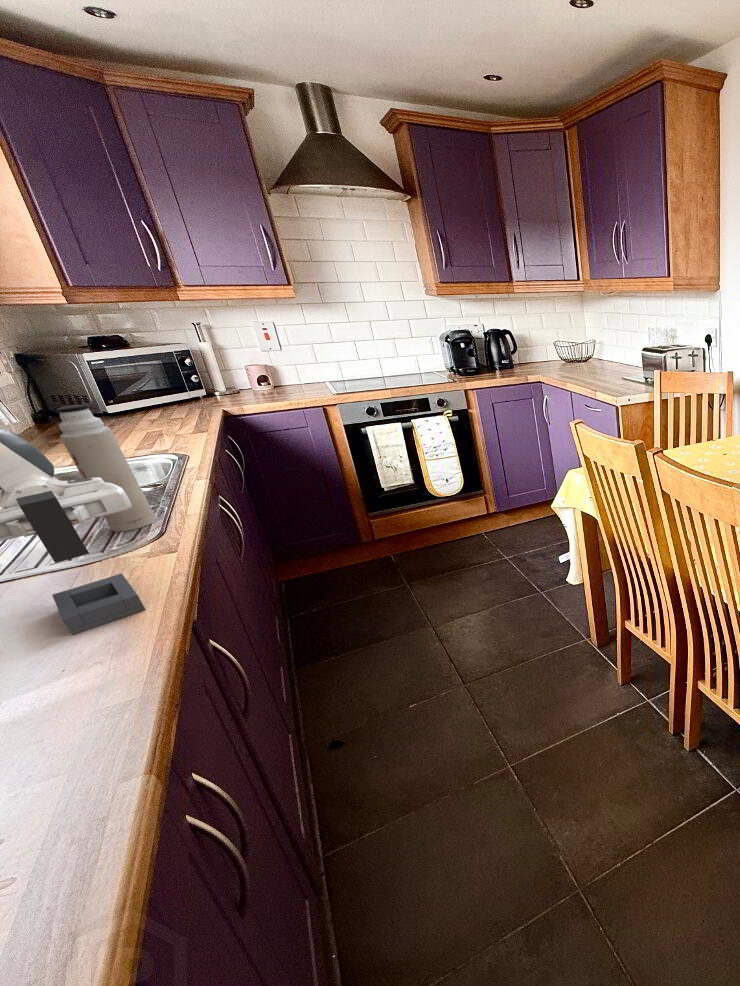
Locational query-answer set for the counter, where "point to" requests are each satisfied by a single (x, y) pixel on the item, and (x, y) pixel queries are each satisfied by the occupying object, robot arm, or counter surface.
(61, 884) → the counter surface
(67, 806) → the counter surface
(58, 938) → the counter surface
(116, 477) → the thermos bottle
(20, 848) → the counter surface
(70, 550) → the dark grey rectangular block
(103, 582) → the slotted base pad
